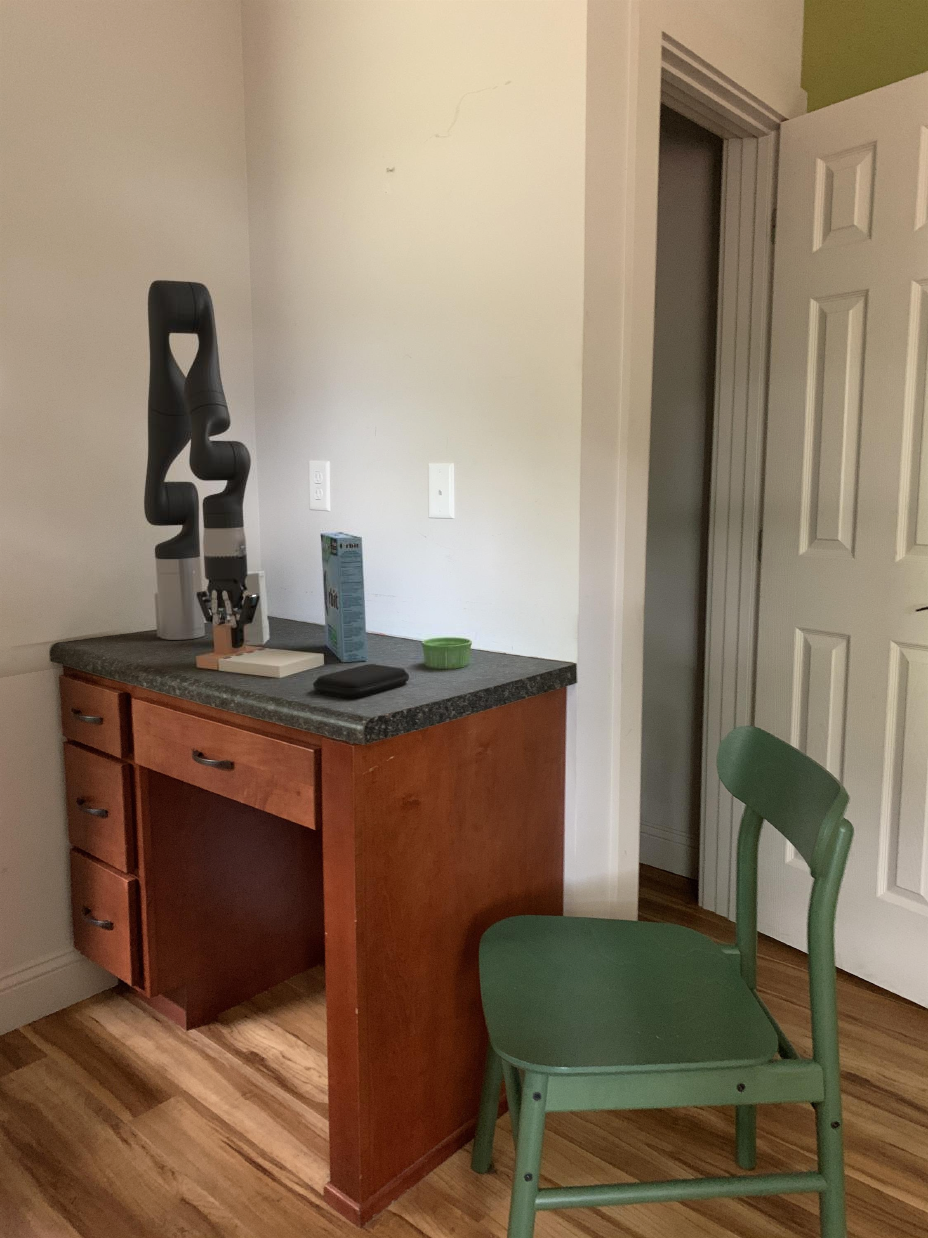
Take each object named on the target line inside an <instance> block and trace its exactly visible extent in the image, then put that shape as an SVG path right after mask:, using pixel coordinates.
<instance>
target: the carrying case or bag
mask: <svg viewBox="0 0 928 1238" xmlns="http://www.w3.org/2000/svg"><path fill="white" fill-rule="evenodd" d="M409 679H410V675H409V673H408V672H407V671H406V670H405V669H404V668H401V667H396V666H395V667H394V666H389V665H388V666H387V665H383V664H382V665H381V664H376V663H375V664H374V663H373V664H372V663H371V664H364V665H360V666H356V667H352V668H351V667H350V668H347V669H343V670H339V671H336V672H331V673H328V674H324V675H321V676H319V677H317V678H316V680H315V681H314V682H313V683H312V686H313V689H314V690H315V691H316V692H317V693H318V694H320V695H324V696H328V695H329V697H335V698H339V699H340V698H341V699H347V700H356V699H360V698H365V697H368V696H371V695H375V694H379V693H382V692H384V691H389V690H391V689H395V688H399V687H402V686H404V685H406V683H407V682H408V681H409Z"/></svg>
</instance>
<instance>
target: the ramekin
mask: <svg viewBox="0 0 928 1238" xmlns="http://www.w3.org/2000/svg"><path fill="white" fill-rule="evenodd" d="M472 644H473V642H472V640H471V639H469V638H466V637H457V636H456V637H455V636H451V637H450V636H449V637H448V636H446V637H443V636H442V637H433V638H426V639H423V640H422V641H421V645H422V650H423V659H424V665H425V666H426V667H427V668H431V669H435V670H436V669H437V670H452V669H453V670H454V669H456V670H457V669H461V668H466V667H468V666H469V665H470V661H471V647H472Z"/></svg>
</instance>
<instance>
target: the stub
mask: <svg viewBox="0 0 928 1238" xmlns="http://www.w3.org/2000/svg"><path fill="white" fill-rule="evenodd" d="M231 628H233V627H232V626H231V622H229V623H228V622H227V623H226V624H223V625H218V626H214V625H212V632H213V650H214V652H210V653H209V652H208V653H205V654H201V655H196V657H195V658H196V667H197V668H199V669H200V668H201V669H209V670H216V671H217V670H218V671H219V663H218V659H222V658H226V657H230V656H234V655H238V654H242V653H246V652H250V651H255V650H258V649H263V648H264V647H263V646H251V645H246V639H245V626H244V644H243V646H242V647H239V648H233V647H232V639H231Z"/></svg>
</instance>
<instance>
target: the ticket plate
mask: <svg viewBox="0 0 928 1238" xmlns="http://www.w3.org/2000/svg"><path fill="white" fill-rule="evenodd" d="M324 657H325V655H324V653H316V652H309V651H308V652H307V651H306V652H305V651H299V650H297V651H296V650H287V649H275V648H267V647H263V649H258V650H255V651H250V652H246V653H242V654H238V655H234V656H230V657H226V658H222V659H218V663H219V669H218V671H220V672H221V671H222V672H229V673H237V674H246V675H253V676H262V677H263V676H264V677H269V678H277V679H279V678H280V679H282V678H284V677H287V676H292V675H293V674H298V673H301V672H304V671H308V670H311V669H316V668H318V667H322V666H324V665H325V658H324Z"/></svg>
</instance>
